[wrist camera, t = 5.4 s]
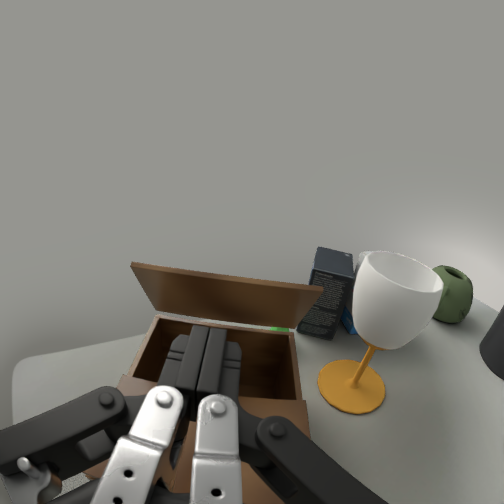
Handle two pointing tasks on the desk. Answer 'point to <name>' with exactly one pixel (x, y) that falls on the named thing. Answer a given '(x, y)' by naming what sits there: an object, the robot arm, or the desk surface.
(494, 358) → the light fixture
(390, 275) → the cup
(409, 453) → the desk surface
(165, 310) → the flap
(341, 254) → the box
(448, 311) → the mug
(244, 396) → the brown boxy piece
